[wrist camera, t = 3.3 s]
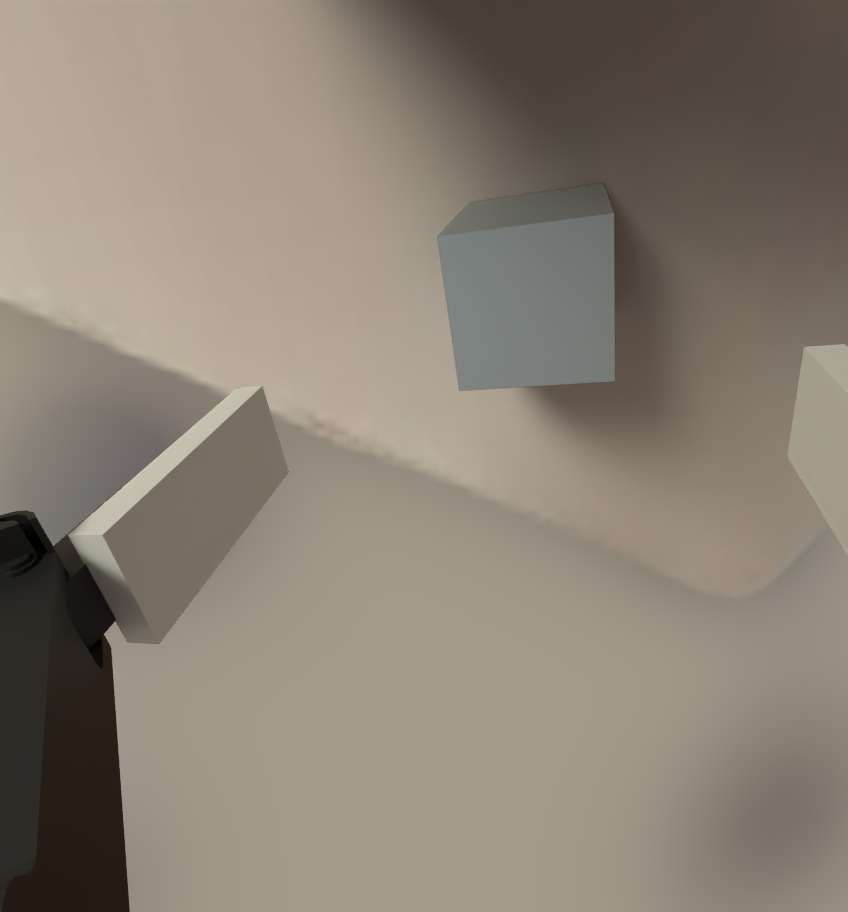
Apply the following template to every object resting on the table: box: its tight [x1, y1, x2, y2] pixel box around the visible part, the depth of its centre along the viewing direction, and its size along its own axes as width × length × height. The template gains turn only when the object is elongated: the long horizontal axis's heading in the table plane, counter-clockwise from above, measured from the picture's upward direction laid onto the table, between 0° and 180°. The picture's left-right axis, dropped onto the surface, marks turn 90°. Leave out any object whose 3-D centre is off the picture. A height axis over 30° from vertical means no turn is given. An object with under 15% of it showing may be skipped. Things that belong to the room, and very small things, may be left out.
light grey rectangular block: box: [437, 183, 615, 391], centre depth 25 cm, size 6×6×8 cm
